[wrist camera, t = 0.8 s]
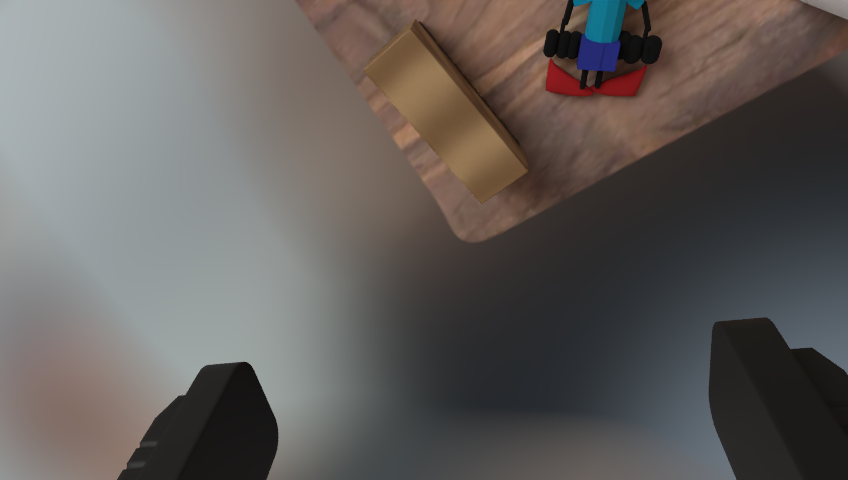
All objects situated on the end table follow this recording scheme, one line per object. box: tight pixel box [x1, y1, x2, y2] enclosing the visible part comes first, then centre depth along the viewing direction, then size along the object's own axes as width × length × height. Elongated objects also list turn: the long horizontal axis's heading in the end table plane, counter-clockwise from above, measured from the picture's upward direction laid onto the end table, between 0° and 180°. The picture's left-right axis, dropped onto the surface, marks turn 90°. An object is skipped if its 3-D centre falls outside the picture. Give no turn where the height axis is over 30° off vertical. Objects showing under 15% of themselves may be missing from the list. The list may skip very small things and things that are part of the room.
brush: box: [363, 19, 528, 204], centre depth 40 cm, size 12×4×4 cm, turn 41°
